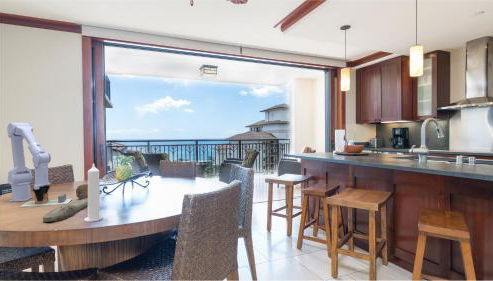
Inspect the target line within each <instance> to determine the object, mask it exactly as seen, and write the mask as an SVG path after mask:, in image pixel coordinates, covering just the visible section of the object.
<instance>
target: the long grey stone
mask: <svg viewBox="0 0 493 281" xmlns="http://www.w3.org/2000/svg"><path fill="white" fill-rule="evenodd" d="M86 207H88V198H86V199H79V200H75V201H73V202H69V203H68V204H65V205H60V206H59V207H55V208H54V209H51V210H50V211H49V212H47V213H45V214H44V216H43V217H42V220H43V222H45V223H49V222H58V221H61V220H64V219H67V218H69V217H72V216H73V215H74V214H76V213H78V212H79V211H80V210H81V211H82V210H83V209H84V208H86Z"/></svg>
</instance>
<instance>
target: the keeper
mask: <svg viewBox="0 0 493 281" xmlns="http://www.w3.org/2000/svg"><path fill="white" fill-rule="evenodd" d="M48 200H49V192H47V193H44V197H43V201H37V198H36V195H35V194H34V201H35V203H46V202H48Z"/></svg>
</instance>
